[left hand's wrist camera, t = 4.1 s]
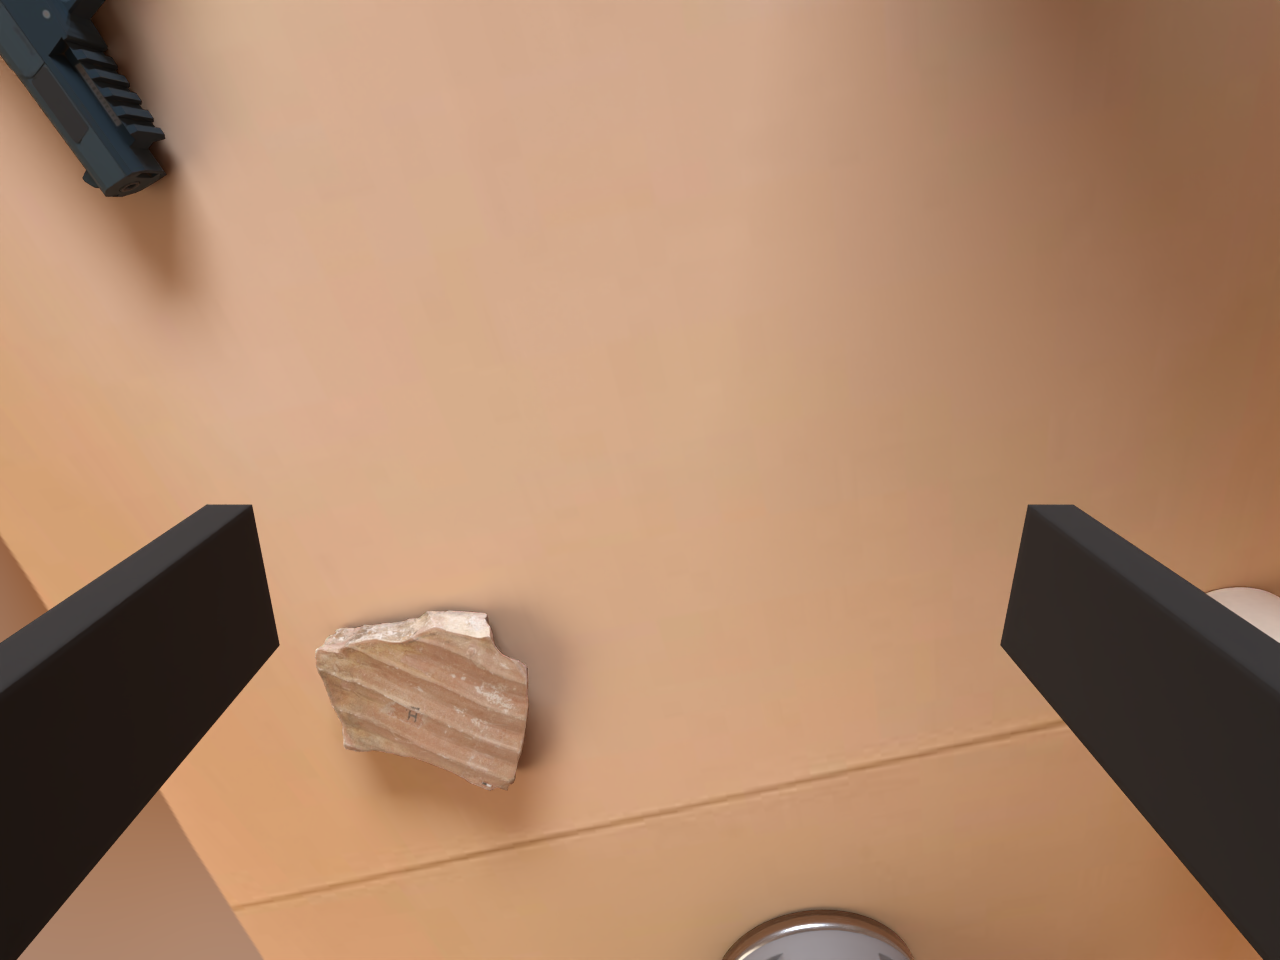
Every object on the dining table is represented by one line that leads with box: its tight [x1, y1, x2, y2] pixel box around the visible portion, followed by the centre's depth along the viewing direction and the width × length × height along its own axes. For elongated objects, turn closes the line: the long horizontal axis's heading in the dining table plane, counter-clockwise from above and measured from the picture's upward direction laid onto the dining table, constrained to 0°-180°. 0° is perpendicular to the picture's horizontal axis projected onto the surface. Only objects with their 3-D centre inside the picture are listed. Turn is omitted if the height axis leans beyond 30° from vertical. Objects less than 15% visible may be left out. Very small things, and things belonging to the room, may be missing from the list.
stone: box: [315, 611, 529, 790], centre depth 45 cm, size 13×12×3 cm
